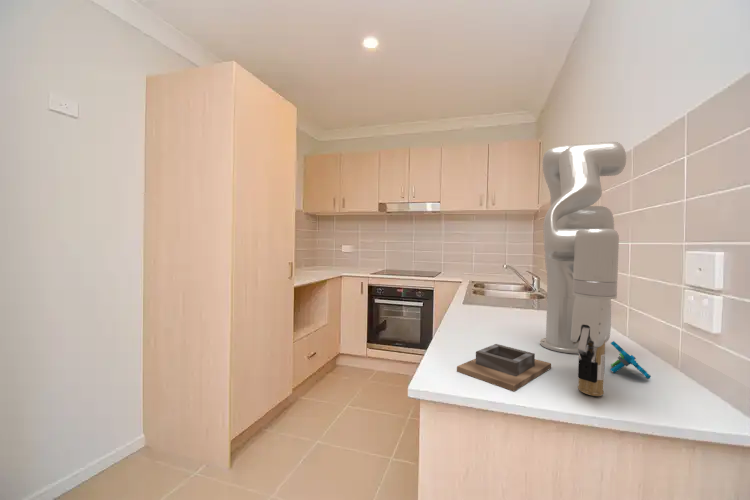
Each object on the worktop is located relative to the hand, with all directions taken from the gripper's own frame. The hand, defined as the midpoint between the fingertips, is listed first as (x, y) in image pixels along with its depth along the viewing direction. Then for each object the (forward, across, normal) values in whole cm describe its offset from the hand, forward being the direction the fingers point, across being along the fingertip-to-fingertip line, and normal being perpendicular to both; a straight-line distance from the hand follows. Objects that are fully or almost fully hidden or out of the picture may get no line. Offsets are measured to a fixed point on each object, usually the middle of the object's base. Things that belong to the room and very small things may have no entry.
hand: (591, 375), depth 68 cm
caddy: (+4, +2, -18) cm, 18 cm away
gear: (+4, -19, +3) cm, 20 cm away
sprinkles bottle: (+4, 0, 0) cm, 4 cm away
